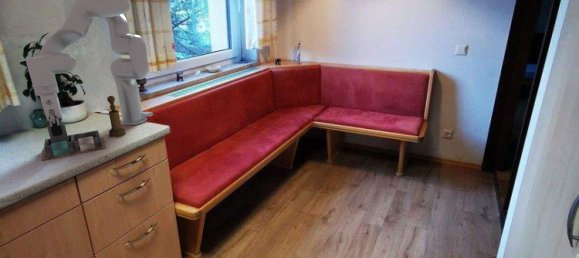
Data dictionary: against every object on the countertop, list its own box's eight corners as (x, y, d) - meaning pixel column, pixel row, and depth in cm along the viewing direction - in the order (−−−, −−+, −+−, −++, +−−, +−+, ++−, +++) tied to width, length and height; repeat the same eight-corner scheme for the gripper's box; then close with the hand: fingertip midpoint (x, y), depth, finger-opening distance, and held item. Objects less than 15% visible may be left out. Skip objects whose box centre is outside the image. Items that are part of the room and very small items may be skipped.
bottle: (73, 146, 142) (65, 111, 137) (64, 152, 136) (54, 116, 131) (60, 146, 142) (51, 111, 137) (50, 152, 137) (40, 116, 132)
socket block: (103, 138, 152) (100, 126, 150) (106, 148, 141) (103, 135, 139) (43, 148, 141) (40, 136, 140) (42, 161, 130) (38, 147, 128)
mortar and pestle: (129, 132, 158) (122, 94, 152) (119, 137, 152) (111, 98, 146) (117, 131, 160) (109, 93, 154) (106, 136, 154) (98, 97, 148)
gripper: (58, 92, 125) (69, 136, 131) (58, 83, 139) (68, 123, 145) (33, 95, 122) (46, 140, 128) (36, 86, 136) (47, 127, 142)
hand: (58, 131), depth 137 cm, fingers open, 9 cm apart
